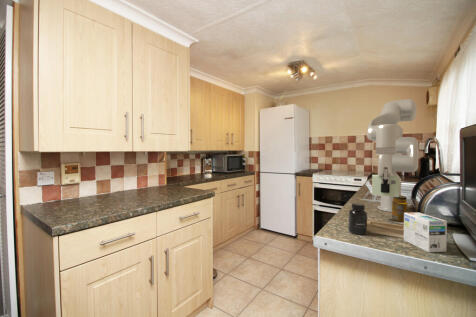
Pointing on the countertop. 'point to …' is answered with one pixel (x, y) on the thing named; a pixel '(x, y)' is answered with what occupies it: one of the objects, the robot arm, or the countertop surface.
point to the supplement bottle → (357, 219)
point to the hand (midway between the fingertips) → (384, 191)
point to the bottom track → (385, 228)
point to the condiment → (398, 209)
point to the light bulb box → (425, 232)
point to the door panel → (392, 181)
